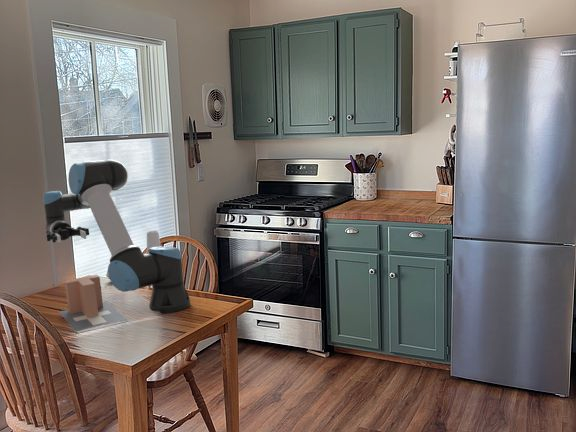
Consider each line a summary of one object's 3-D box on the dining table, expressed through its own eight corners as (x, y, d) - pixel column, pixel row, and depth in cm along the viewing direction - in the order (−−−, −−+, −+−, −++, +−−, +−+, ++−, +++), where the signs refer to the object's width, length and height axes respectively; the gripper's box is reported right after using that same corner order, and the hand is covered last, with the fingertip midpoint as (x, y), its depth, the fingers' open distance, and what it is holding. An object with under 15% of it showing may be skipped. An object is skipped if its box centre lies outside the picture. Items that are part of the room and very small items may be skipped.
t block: (68, 311, 219) (64, 280, 217) (100, 304, 225) (96, 274, 223) (76, 320, 208) (71, 287, 206) (109, 312, 214) (105, 281, 212)
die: (124, 278, 270) (109, 263, 268) (133, 271, 265) (118, 256, 263) (114, 289, 264) (98, 274, 262) (123, 282, 258) (108, 266, 257)
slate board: (59, 314, 220) (58, 311, 219) (106, 304, 229) (106, 301, 229) (75, 334, 196) (74, 331, 196) (127, 321, 205) (127, 319, 205)
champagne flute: (166, 286, 248) (160, 232, 244) (150, 289, 246) (144, 233, 243) (165, 283, 255) (159, 229, 251) (149, 285, 253) (143, 231, 249)
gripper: (88, 235, 247) (101, 242, 228) (34, 243, 236) (44, 251, 217) (86, 217, 246) (99, 223, 227) (32, 225, 235) (41, 232, 216)
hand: (72, 237), depth 222 cm, fingers open, 9 cm apart
